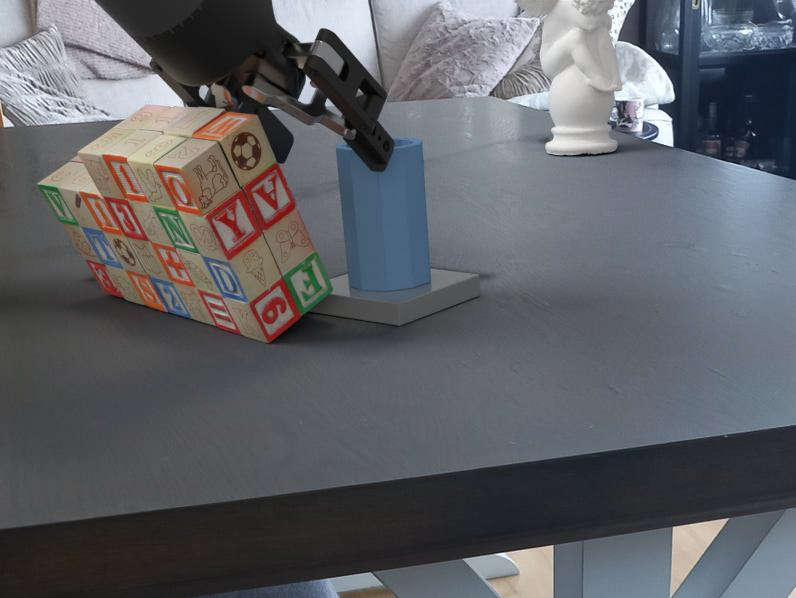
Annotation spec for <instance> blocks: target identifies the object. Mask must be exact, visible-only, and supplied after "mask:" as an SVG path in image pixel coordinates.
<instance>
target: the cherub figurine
mask: <svg viewBox="0 0 796 598" xmlns="http://www.w3.org/2000/svg"><path fill="white" fill-rule="evenodd" d="M615 2H616V0H513V3H514V4H516V6H517V7H518V8H520V10H523V11H524V12H526V14H527V15H528V17H529V16H530V17H531V16H532V17H533V18H537V17H541V16H542V17H543V16H544V17H545V18H544V21H543V26H542V33H541V45H540V50H539V62H540V66H541V70H542V73H543V74H544V76H545V77H546V78H548V79H549V80H552V81H551V84H550V87H549V91H548V94H547V95H548V96H547V107H548V112H549V114H550V118H551V120H552V122H553V124H554V125H555V126H553V127H551V129H550V132H551V134H552V135H553V139H552V140H550V141H548V142H546V143H545V151H546V154H550V155H554V156H555V155H556V156H563V155H567V156H573V155H582V154H584V155H585V154H587V155H590V154H592V155H597V154H602V153H605V154H606V153H612V152H614V151H617V148H618V146H619V143H618V141H617V140H616V139H613V138H611V136H610V132H611V131H612V129H613V128H612V126H611V124H608V123H609V122H610V119H611V117H612V115H613V111H614V108H615V103H616V101H615V100H616V99H615V98H616V97H615V92H621V91H623V84H622V82H621V75H620V72H619V69H620V68H619V62H618V56H617V53H616V49H615V47H614V44H613V40H612V36H611V33H610V31H611V30H612V29H613V18H612V16H611V15H610V13H609V11H610V10H613V9H614V6H615Z"/></svg>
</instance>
